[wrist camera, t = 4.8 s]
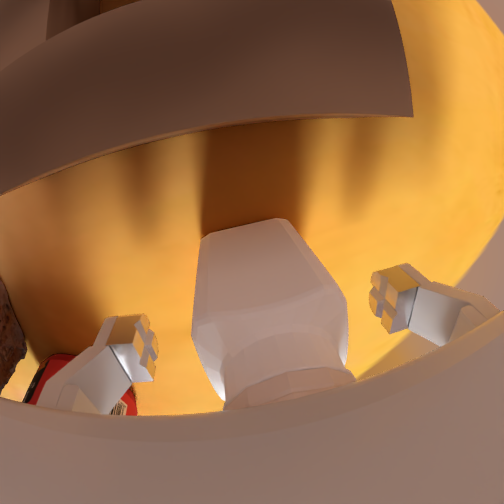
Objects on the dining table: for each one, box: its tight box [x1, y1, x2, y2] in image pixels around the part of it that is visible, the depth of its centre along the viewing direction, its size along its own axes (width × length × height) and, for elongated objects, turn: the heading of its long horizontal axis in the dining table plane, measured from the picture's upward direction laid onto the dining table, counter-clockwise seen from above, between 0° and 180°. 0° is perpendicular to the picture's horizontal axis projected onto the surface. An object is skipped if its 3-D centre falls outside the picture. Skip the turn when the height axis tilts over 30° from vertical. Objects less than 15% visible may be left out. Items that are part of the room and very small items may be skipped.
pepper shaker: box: [191, 218, 357, 411], centre depth 8 cm, size 4×4×10 cm
